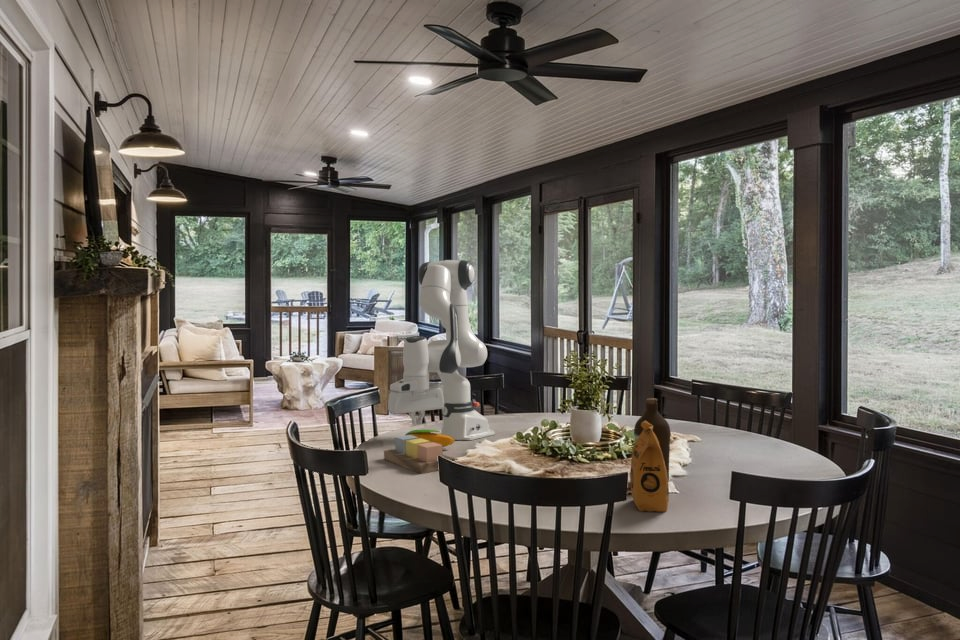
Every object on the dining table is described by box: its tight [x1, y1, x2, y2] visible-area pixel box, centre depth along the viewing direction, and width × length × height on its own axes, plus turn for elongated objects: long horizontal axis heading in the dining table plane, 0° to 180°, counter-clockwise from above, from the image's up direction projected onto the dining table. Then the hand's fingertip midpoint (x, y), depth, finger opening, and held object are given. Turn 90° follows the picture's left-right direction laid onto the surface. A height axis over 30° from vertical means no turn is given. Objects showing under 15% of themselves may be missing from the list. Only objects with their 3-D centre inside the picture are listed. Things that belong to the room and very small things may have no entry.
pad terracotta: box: [418, 442, 444, 462], centre depth 237 cm, size 6×6×5 cm
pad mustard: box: [406, 438, 430, 458], centre depth 243 cm, size 6×6×5 cm
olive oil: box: [633, 397, 671, 483], centre depth 214 cm, size 11×11×25 cm
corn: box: [404, 429, 456, 448], centre depth 265 cm, size 7×8×20 cm
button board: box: [383, 448, 456, 475], centre depth 244 cm, size 13×26×3 cm, turn 35°
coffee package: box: [629, 421, 670, 513], centre depth 191 cm, size 10×12×22 cm
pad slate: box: [394, 434, 418, 454], centre depth 250 cm, size 6×6×5 cm
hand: (417, 424), depth 243 cm, fingers closed
